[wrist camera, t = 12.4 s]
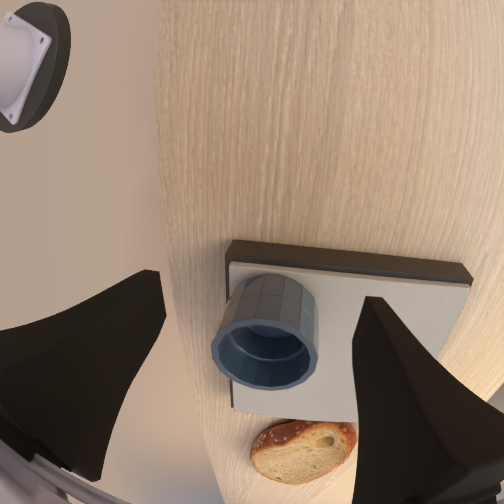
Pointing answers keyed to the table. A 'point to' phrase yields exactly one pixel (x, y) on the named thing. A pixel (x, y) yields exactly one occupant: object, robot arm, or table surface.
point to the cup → (268, 334)
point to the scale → (346, 316)
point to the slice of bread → (302, 450)
